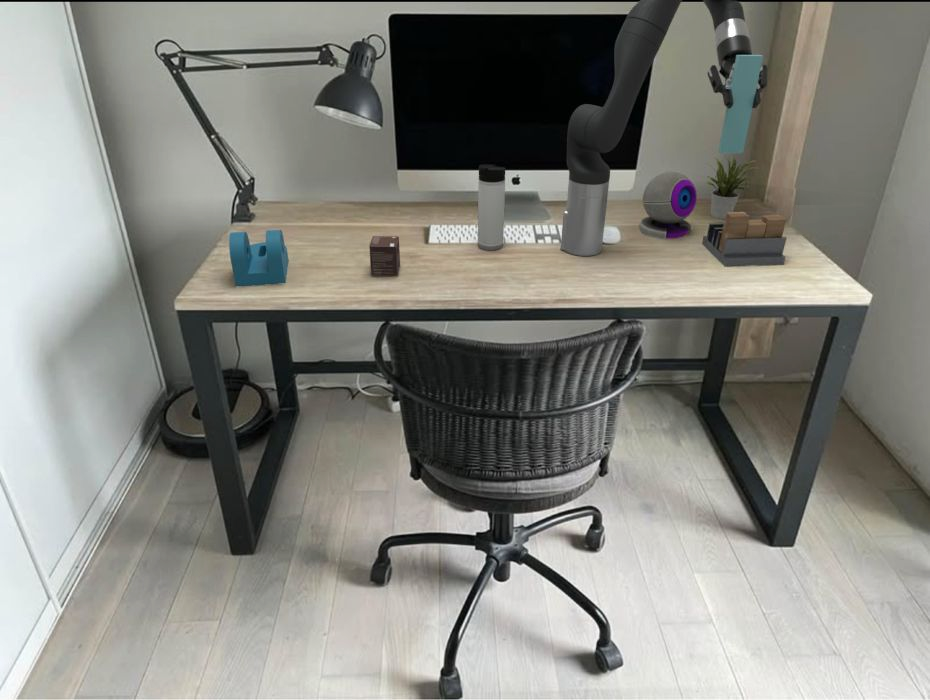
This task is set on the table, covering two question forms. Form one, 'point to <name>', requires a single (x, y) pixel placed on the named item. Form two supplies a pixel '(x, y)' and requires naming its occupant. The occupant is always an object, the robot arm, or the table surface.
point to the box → (384, 256)
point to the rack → (744, 248)
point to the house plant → (726, 188)
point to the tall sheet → (740, 103)
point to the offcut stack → (751, 227)
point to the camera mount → (258, 259)
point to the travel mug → (491, 206)
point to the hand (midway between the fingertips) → (743, 106)
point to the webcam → (668, 205)
